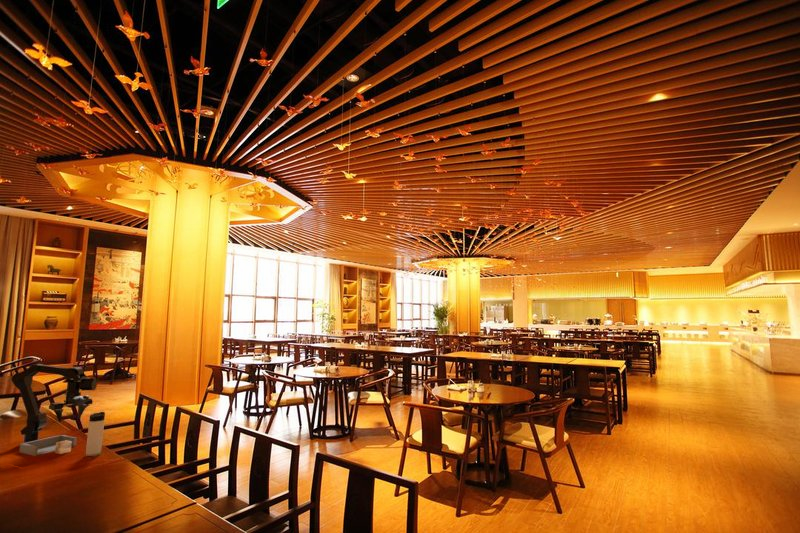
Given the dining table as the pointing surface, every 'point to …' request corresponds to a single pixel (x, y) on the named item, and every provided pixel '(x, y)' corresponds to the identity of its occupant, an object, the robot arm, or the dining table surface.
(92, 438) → the travel mug
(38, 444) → the slate box
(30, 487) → the dining table surface
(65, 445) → the birch block
